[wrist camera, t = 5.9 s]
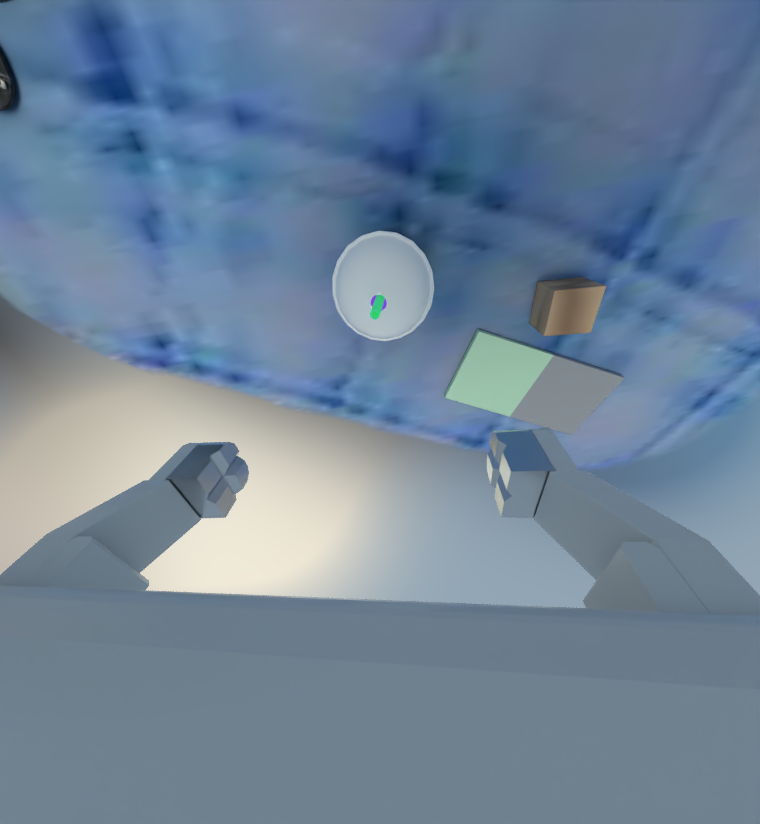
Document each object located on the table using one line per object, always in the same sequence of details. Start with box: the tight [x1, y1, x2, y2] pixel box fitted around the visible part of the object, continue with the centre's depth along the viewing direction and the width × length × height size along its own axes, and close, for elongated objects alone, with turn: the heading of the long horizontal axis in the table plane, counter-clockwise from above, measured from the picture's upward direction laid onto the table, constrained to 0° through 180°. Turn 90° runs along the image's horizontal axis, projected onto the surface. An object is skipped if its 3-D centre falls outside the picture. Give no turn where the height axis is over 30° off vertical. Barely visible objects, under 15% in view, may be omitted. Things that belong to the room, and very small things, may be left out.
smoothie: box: [332, 231, 434, 341], centre depth 26 cm, size 8×8×20 cm
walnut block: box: [529, 277, 606, 336], centre depth 32 cm, size 5×5×5 cm
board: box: [444, 329, 624, 434], centre depth 41 cm, size 22×11×1 cm, turn 74°
